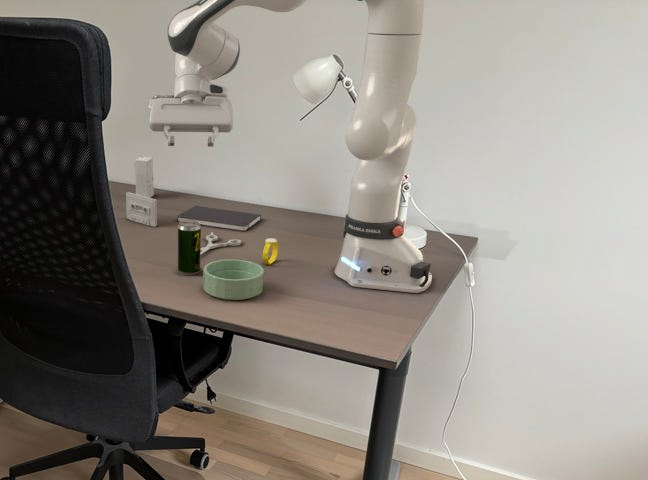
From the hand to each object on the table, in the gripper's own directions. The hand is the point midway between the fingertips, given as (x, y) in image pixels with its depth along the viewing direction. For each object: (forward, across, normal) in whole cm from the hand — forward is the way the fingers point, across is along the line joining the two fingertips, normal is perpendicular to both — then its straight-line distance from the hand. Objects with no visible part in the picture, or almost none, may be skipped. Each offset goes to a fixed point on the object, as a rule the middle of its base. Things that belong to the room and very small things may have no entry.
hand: (190, 145), depth 177 cm
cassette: (0, -14, +38) cm, 41 cm away
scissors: (+16, +5, +22) cm, 28 cm away
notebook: (-1, +8, +40) cm, 41 cm away
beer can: (+29, 0, +10) cm, 30 cm away
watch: (+24, +20, +15) cm, 34 cm away
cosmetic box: (-19, -15, +58) cm, 63 cm away
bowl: (+37, +10, +2) cm, 38 cm away
